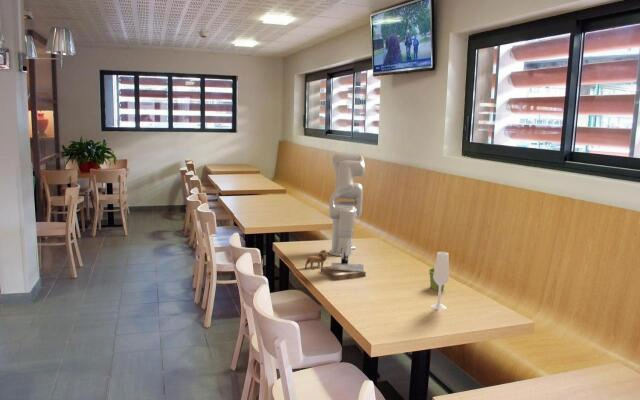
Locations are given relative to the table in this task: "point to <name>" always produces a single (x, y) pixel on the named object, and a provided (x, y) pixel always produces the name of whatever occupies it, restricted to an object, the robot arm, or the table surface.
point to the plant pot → (432, 282)
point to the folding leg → (347, 267)
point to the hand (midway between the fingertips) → (344, 267)
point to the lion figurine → (317, 259)
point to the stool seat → (341, 273)
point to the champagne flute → (441, 276)
